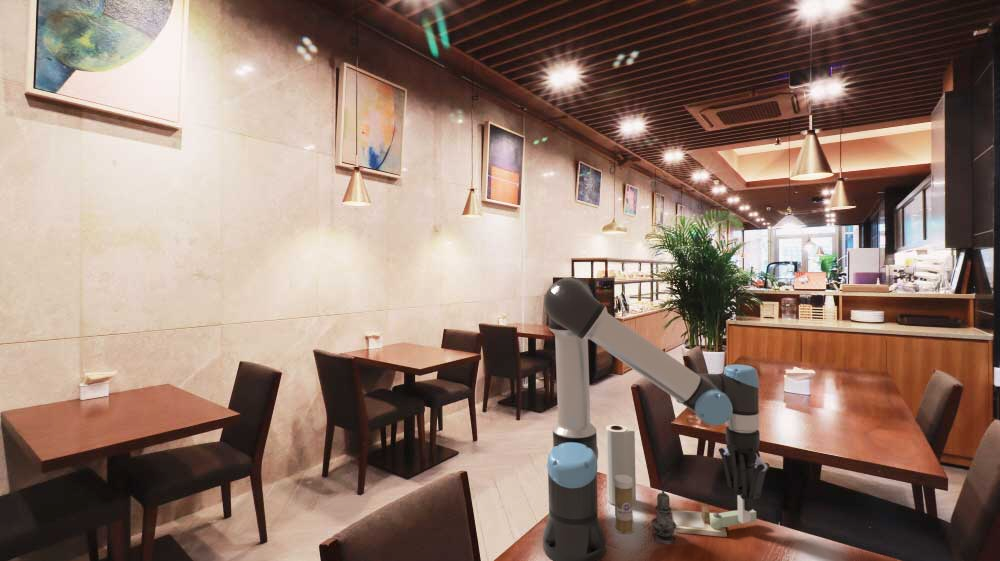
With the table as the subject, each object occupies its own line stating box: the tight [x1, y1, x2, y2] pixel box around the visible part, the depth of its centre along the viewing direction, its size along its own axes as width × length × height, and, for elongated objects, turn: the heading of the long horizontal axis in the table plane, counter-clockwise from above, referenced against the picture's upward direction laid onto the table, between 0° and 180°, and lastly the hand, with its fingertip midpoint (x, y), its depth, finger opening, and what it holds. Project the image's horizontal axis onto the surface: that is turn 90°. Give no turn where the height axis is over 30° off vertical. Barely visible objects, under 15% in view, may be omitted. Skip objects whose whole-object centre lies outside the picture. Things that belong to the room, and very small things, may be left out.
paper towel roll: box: [605, 424, 637, 506], centre depth 134 cm, size 7×6×21 cm
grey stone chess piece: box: [651, 489, 676, 545], centre depth 116 cm, size 6×6×12 cm
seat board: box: [670, 505, 728, 538], centre depth 122 cm, size 12×9×4 cm
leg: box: [710, 509, 757, 529], centre depth 119 cm, size 12×3×3 cm, turn 103°
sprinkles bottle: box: [614, 475, 634, 534], centre depth 120 cm, size 5×5×14 cm
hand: (744, 520), depth 118 cm, fingers closed
